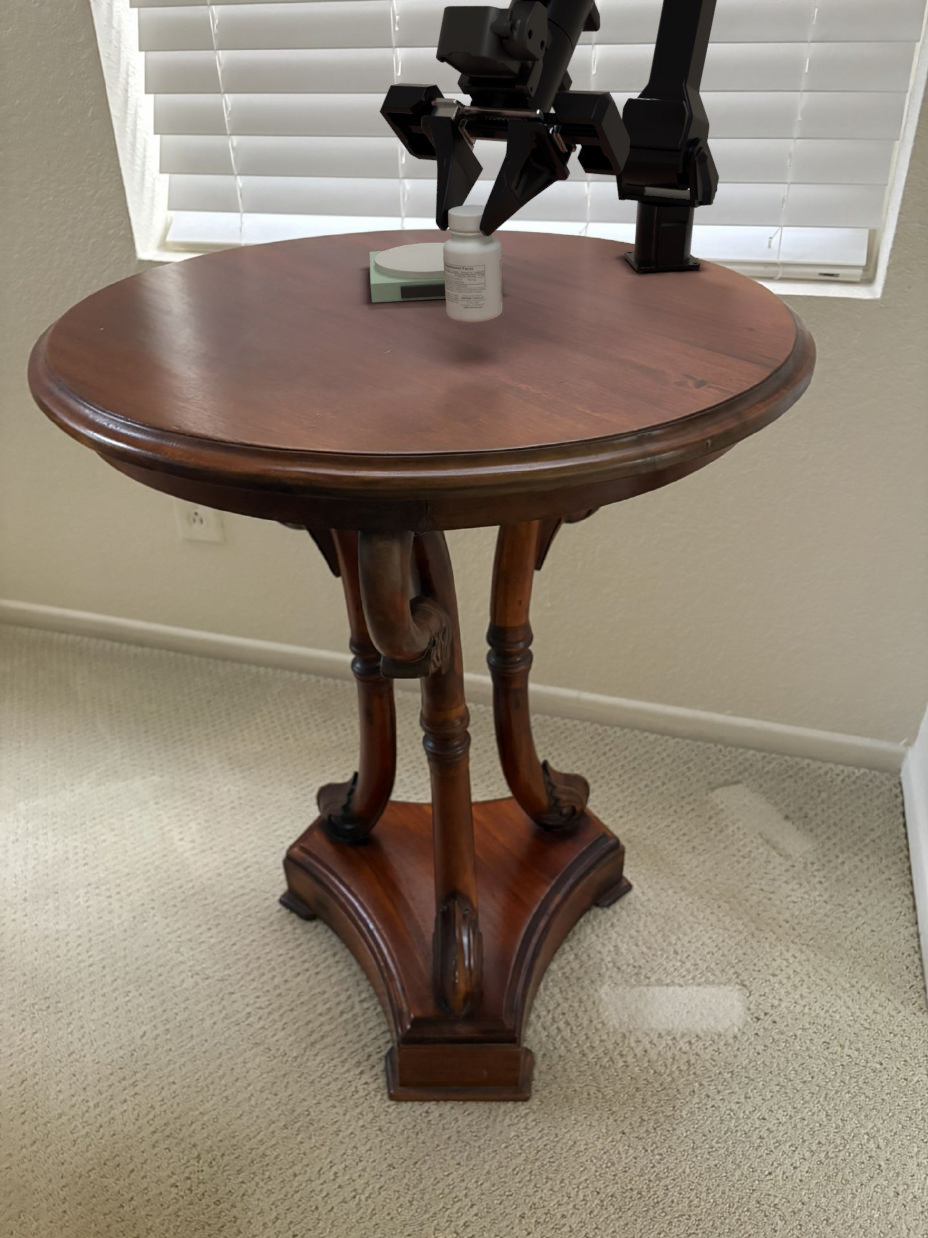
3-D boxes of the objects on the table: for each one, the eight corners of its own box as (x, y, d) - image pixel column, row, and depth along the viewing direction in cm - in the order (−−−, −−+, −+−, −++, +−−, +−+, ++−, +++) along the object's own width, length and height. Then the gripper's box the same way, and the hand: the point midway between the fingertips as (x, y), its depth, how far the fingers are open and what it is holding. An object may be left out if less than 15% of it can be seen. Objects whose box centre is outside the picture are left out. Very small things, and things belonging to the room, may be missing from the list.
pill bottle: (474, 302, 81) (471, 199, 76) (514, 312, 78) (513, 207, 74) (434, 315, 78) (428, 210, 74) (474, 327, 76) (470, 219, 71)
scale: (370, 269, 106) (368, 244, 104) (484, 263, 106) (483, 238, 105) (372, 303, 95) (369, 277, 94) (497, 296, 96) (497, 270, 95)
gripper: (384, -44, 72) (303, 150, 71) (621, -52, 63) (533, 170, 62) (449, 67, 82) (379, 240, 81) (663, 74, 73) (588, 268, 72)
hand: (461, 230), depth 74 cm, fingers closed on pill bottle, 3 cm apart
